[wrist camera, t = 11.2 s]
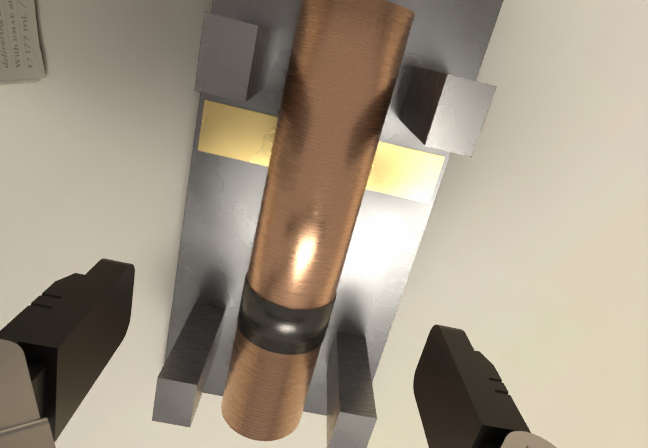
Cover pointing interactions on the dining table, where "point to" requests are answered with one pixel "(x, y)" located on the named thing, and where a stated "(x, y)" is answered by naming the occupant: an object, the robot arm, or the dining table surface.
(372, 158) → the copper tube
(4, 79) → the skincare box
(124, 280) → the robot arm
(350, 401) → the tube holder
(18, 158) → the dining table surface
